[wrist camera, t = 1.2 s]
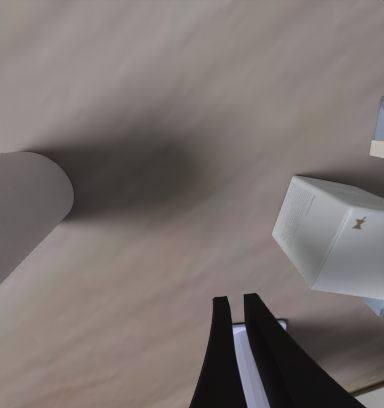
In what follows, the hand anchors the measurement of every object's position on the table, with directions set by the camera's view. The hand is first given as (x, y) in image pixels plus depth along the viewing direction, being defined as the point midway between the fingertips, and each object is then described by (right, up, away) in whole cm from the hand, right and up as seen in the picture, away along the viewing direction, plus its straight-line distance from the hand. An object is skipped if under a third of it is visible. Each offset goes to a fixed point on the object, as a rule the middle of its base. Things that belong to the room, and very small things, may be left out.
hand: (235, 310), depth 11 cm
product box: (+9, +5, +9) cm, 14 cm away
